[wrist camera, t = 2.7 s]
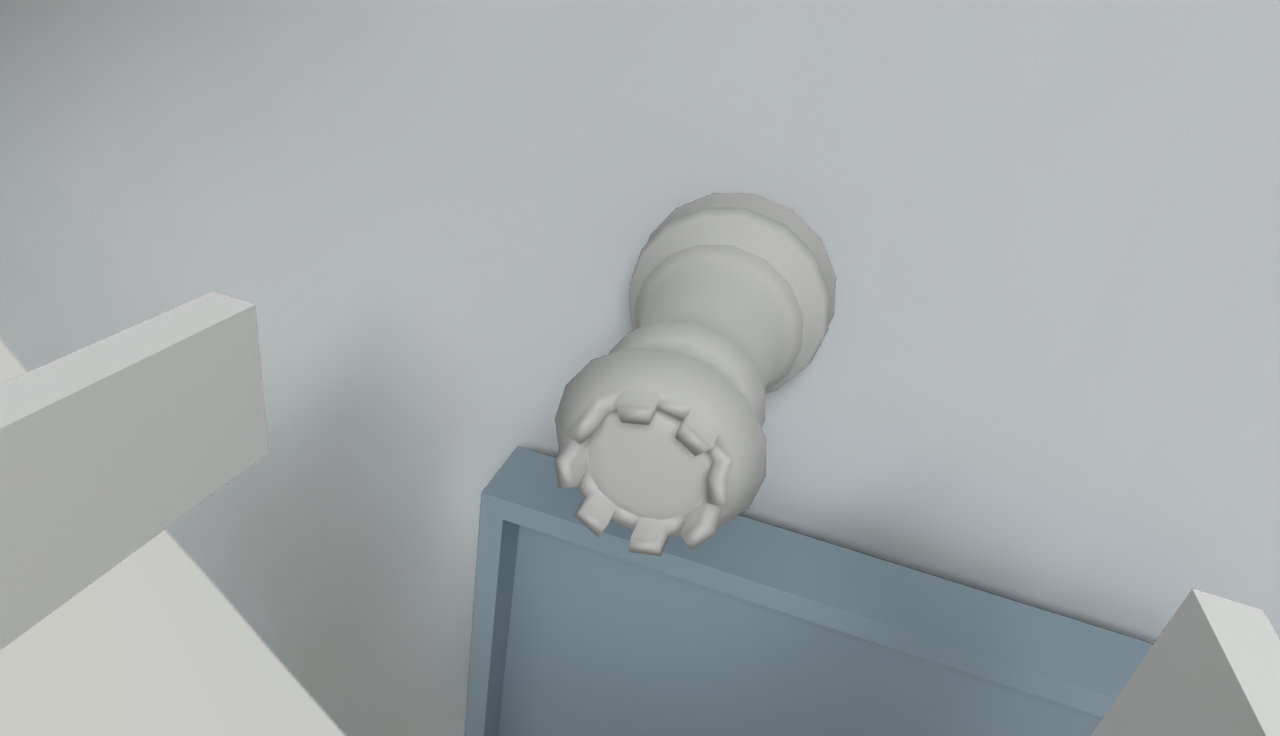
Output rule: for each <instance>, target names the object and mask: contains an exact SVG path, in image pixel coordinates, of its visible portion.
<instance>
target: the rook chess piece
mask: <svg viewBox="0 0 1280 736" xmlns="http://www.w3.org/2000/svg"><path fill="white" fill-rule="evenodd" d="M835 289H836V275H835V272H834V270H833V267H832V265H831V262H830V260H829V257H828V254H827V252H826V249H825V247H824V244H823V242H822V239H821V238H820V237H819V236H818V235H817V234H816V233H815V232H814V231H813V230H812V229H811V228H810V227H809V226H808V225H807V224H806V223H805V222H804V221H803V220H802V219H801V218H800V217H799V216H798V215H797V214H796V213H795V212H794V211H793V210H792V209H789V208H787V207H784V206H782V205H780V204H777V203H775V202H772V201H770V200H768V199H765V198H763V197H761V196H758V195H756V194H741V193H712V194H710V195H707V196H705V197H702V198H700V199H698V200H695V201H693V202H690V203H688V204H685V205H683V206H681V207H678V208H676V209H675V210H674V211H673V212H672V213H671V214H670V215H669V216H668V217H667V218H666V219H665V221H664V222H663V223H662V224H661V225H660V226H659V227H658V228H657V229H656V230H655V231H654V232H653V233H652V234H651V235H650V237H649V240H648V243H647V245H646V246H645V247H644V248H643V249H642V250H641V253H640V256H639V259H638V262H637V265H636V267H635V270H634V273H633V276H632V279H631V282H630V288H629V294H630V308H631V321H632V327H633V329H634V330H633V331H631V332H630V333H629V334H628V335H626V336H625V337H624V338H623V339H622V340H621V341H620V342H619V343H618V344H617V345H616V346H615V347H614V348H613V349H612V350H611V351H610V353H609V354H608V355H605V356H602V357H600V358H597V359H594V360H591V361H590V362H589V363H588V364H587V365H586V366H585V367H584V368H583V369H582V370H581V371H580V372H579V373H578V374H577V375H576V376H575V377H574V378H573V379H572V380H571V381H570V382H569V383H568V384H567V385H566V386H565V390H564V393H563V396H562V399H561V402H560V405H559V408H558V411H557V414H556V417H555V423H556V431H557V439H558V446H559V453H558V455H557V456H556V458H555V459H554V460H555V468H556V475H557V483H558V488H570V487H577V486H578V488H579V490H580V491H581V493H582V494H583V496H584V498H583V500H582V502H581V503H580V505H579V507H578V509H577V510H576V512H575V514H574V516H575V517H576V518H577V519H578V520H579V521H580V522H581V523H583V524H584V525H585V526H586V527H587V528H588V529H589V530H590V531H591V532H593V533H594V534H595V535H596V536H597V537H599V536H600V534H601V533H602V532H603V530H604V529H605V528H606V526H607V525H608V523H609V521H610V520H612V521H614V522H616V523H618V524H621V525H623V526H625V527H627V528H629V529H631V530H633V533H632V535H631V539H630V546H629V552H633V553H640V554H647V555H654V556H661V555H662V553H663V550H664V548H665V545H666V542H667V540H668V537H670V536H681V538H682V539H683V540H684V542H685V543H686V544H687V545H688V547H689V548H690V549H691V550H693V549H694V548H696V547H697V546H698V545H700V544H701V543H703V542H704V541H706V540H707V539H708V538H710V537H711V536H713V535H714V534H715V533H716V529H717V528H720V527H722V526H723V525H724V524H726V523H727V522H729V521H730V520H732V519H733V518H734V517H736V516H737V515H739V514H740V513H742V512H743V511H745V510H746V509H747V508H749V506H750V504H751V503H752V501H753V499H754V497H755V495H756V493H757V491H758V490H759V488H760V486H761V484H762V482H763V480H764V478H765V477H766V437H765V435H764V433H763V430H762V428H761V427H762V425H763V423H764V421H765V393H768V392H772V391H775V390H778V389H779V388H780V387H781V386H783V385H784V384H785V383H787V382H788V381H789V380H790V379H792V378H793V377H794V376H795V375H797V374H798V373H799V372H801V371H802V370H803V369H804V368H806V367H807V366H808V365H809V364H810V363H811V362H812V360H813V358H814V356H815V354H816V352H817V350H818V348H819V346H820V345H821V343H822V341H823V339H824V337H825V335H826V333H827V331H828V326H829V324H830V322H831V320H832V318H833V316H834V308H835Z"/></svg>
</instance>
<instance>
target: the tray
mask: <svg viewBox="0 0 1280 736" xmlns="http://www.w3.org/2000/svg"><path fill="white" fill-rule="evenodd" d="M554 459H555V458H554V457H551V456H548V455H544V454H541V453H538V452H535V451H532V450H528V449H525V448H522V447H519V446H518V447H517V448H516V449H515V451H514V452H513V453H512V454H511V456H510V457H509V458H508V460H507V461H506V462H505V463H504V465H503V466H502V467H501V468H500V470H499V471H498V472H497V474H496V475H495V476H494V477H493V479H492V480H491V481H490V482H489V484H488V485H487V486H486V487H485V489H484V490H483V491H482V493H481V506H480V520H479V535H478V549H477V564H476V578H475V592H474V607H473V621H472V636H471V650H470V665H469V679H468V694H467V708H466V722H465V736H1091V734H1092V733H1093V731H1094V730H1095V728H1096V727H1097V725H1098V724H1099V722H1100V721H1101V720H1102V718H1103V717H1104V715H1105V714H1106V712H1107V711H1108V710H1109V708H1110V707H1111V705H1112V704H1113V702H1114V701H1115V699H1116V698H1117V697H1118V695H1119V694H1120V692H1121V691H1122V689H1123V688H1124V686H1125V685H1126V684H1127V682H1128V681H1129V679H1130V678H1131V676H1132V675H1133V673H1134V672H1135V671H1136V669H1137V668H1138V666H1139V665H1140V663H1141V662H1142V660H1143V659H1144V658H1145V656H1146V655H1147V653H1148V652H1149V650H1150V649H1151V648H1152V646H1153V645H1154V644H1151V643H1148V642H1145V641H1141V640H1138V639H1135V638H1132V637H1129V636H1125V635H1122V634H1119V633H1116V632H1113V631H1109V630H1106V629H1103V628H1100V627H1097V626H1093V625H1090V624H1087V623H1084V622H1080V621H1077V620H1074V619H1071V618H1068V617H1064V616H1061V615H1058V614H1055V613H1052V612H1048V611H1045V610H1042V609H1039V608H1036V607H1032V606H1029V605H1026V604H1023V603H1019V602H1016V601H1013V600H1010V599H1007V598H1003V597H1000V596H997V595H994V594H991V593H987V592H984V591H981V590H978V589H975V588H971V587H968V586H965V585H962V584H959V583H955V582H952V581H949V580H946V579H942V578H939V577H936V576H933V575H930V574H926V573H923V572H920V571H917V570H914V569H910V568H907V567H904V566H901V565H898V564H894V563H891V562H888V561H885V560H881V559H878V558H875V557H872V556H869V555H865V554H862V553H859V552H856V551H853V550H849V549H846V548H843V547H840V546H837V545H833V544H830V543H827V542H824V541H821V540H817V539H814V538H811V537H808V536H804V535H801V534H798V533H795V532H792V531H788V530H785V529H782V528H779V527H776V526H772V525H769V524H766V523H763V522H760V521H756V520H753V519H750V518H747V517H743V516H740V515H737V516H736V517H734V518H733V519H732V520H730V521H729V522H727V523H726V524H724V525H723V526H722V527H720V528H717V529H716V533H715V534H714V535H713V536H711V537H710V538H708V539H707V540H706V541H704V542H703V543H701V544H700V545H698V546H697V547H696V548H694V549H693V550H691V549H690V548H689V547H688V545H687V544H686V543H685V542H684V540H683V539H682V538H681V536H670V537H668V540H667V542H666V545H665V548H664V550H663V553H662V555H661V556H654V555H647V554H640V553H633V552H629V546H630V539H631V535H632V533H633V530H631V529H629V528H627V527H625V526H623V525H621V524H618V523H616V522H614V521H612V520H610V521H609V523H608V525H607V526H606V528H605V529H604V530H603V532H602V533H601V534H600V536H599V537H597V536H596V535H595V534H594V533H593V532H591V531H590V530H589V529H588V528H587V527H586V526H585V525H584V524H583V523H581V522H580V521H579V520H578V519H577V518H576V517H575V516H574V514H575V512H576V510H577V509H578V507H579V505H580V503H581V502H582V500H583V498H584V496H583V494H582V493H581V491H580V490H579V488H578V486H577V487H570V488H558V483H557V475H556V468H555V460H554Z"/></svg>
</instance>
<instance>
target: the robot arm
mask: <svg viewBox="0 0 1280 736" xmlns="http://www.w3.org/2000/svg"><path fill="white" fill-rule="evenodd" d="M267 454H268V442H267V431H266V420H265V408H264V397H263V385H262V374H261V363H260V351H259V340H258V329H257V317H256V306H255V304H252V303H249V302H245V301H242V300H239V299H236V298H232V297H229V296H226V295H222V294H219V293H216V292H213V291H212V292H210V293H208V294H205V295H203V296H201V297H199V298H196V299H194V300H192V301H189V302H187V303H185V304H183V305H180V306H178V307H176V308H173V309H171V310H169V311H167V312H164V313H162V314H160V315H157V316H155V317H153V318H151V319H148V320H146V321H144V322H141V323H139V324H137V325H135V326H132V327H130V328H128V329H125V330H123V331H121V332H119V333H116V334H114V335H112V336H109V337H107V338H105V339H103V340H100V341H98V342H96V343H93V344H91V345H89V346H87V347H84V348H82V349H80V350H77V351H75V352H73V353H71V354H68V355H66V356H64V357H61V358H59V359H57V360H55V361H52V362H50V363H48V364H45V365H43V366H41V367H38V368H36V369H34V370H32V371H29V372H27V373H25V374H22V375H20V376H18V377H16V378H14V379H11V380H9V381H6V382H4V383H2V384H0V650H1V649H2V648H4V647H5V646H6V645H8V644H9V643H11V642H12V641H13V640H15V639H16V638H17V637H19V636H20V635H22V634H23V633H24V632H26V631H27V630H28V629H30V628H31V627H32V626H34V625H35V624H37V623H38V622H39V621H40V620H42V619H43V618H45V617H46V616H47V615H49V614H50V613H52V611H54V610H56V609H57V608H58V607H60V606H61V605H62V604H64V603H65V602H67V601H68V600H69V599H71V598H72V597H73V596H75V595H76V594H77V593H79V592H80V591H81V590H83V589H84V588H86V587H87V586H88V585H90V584H91V583H92V582H94V581H95V580H96V579H98V578H99V577H101V576H102V575H103V574H104V573H106V572H107V571H109V570H110V569H111V568H113V567H114V566H115V565H117V564H118V563H119V562H121V561H122V560H124V559H125V558H126V557H128V556H129V555H130V554H132V553H133V552H135V551H136V550H137V549H139V548H140V547H141V546H142V545H144V544H145V543H147V542H148V541H149V540H151V539H152V538H153V537H155V536H156V535H158V534H159V533H160V532H162V531H163V530H165V529H166V528H167V527H169V526H170V525H171V524H173V523H174V522H175V521H177V520H178V519H179V518H181V517H182V516H184V515H185V514H186V513H188V512H189V511H190V510H192V509H193V508H194V507H196V506H197V505H199V504H200V503H201V502H203V501H204V500H205V499H207V498H208V497H209V496H211V495H212V494H214V493H215V492H216V491H218V490H219V489H220V488H222V487H223V486H224V485H226V484H227V483H228V482H230V481H231V480H233V479H234V478H235V477H237V476H238V475H239V474H241V473H242V472H243V471H245V470H246V469H248V468H249V467H250V466H252V465H253V464H254V463H256V462H257V461H258V460H260V459H261V458H263V457H264V456H265V455H267ZM1091 736H1280V639H1279V637H1278V636H1277V634H1276V632H1275V631H1274V629H1273V627H1272V626H1271V624H1270V622H1269V620H1268V619H1267V617H1266V615H1265V614H1264V612H1263V610H1261V609H1258V608H1254V607H1251V606H1248V605H1245V604H1241V603H1238V602H1235V601H1231V600H1228V599H1225V598H1221V597H1218V596H1215V595H1212V594H1208V593H1205V592H1202V591H1198V590H1195V589H1192V590H1191V591H1190V593H1189V594H1188V596H1187V597H1186V599H1185V600H1184V601H1183V603H1182V604H1181V606H1180V607H1179V609H1178V610H1177V611H1176V613H1175V614H1174V616H1173V617H1172V619H1171V620H1170V622H1169V623H1168V624H1167V626H1166V627H1165V629H1164V630H1163V632H1162V633H1161V635H1160V636H1159V637H1158V639H1157V640H1156V642H1155V643H1154V645H1153V646H1152V648H1151V649H1150V650H1149V652H1148V653H1147V655H1146V656H1145V658H1144V659H1143V660H1142V662H1141V663H1140V665H1139V666H1138V668H1137V669H1136V671H1135V672H1134V673H1133V675H1132V676H1131V678H1130V679H1129V681H1128V682H1127V684H1126V685H1125V686H1124V688H1123V689H1122V691H1121V692H1120V694H1119V695H1118V697H1117V698H1116V699H1115V701H1114V702H1113V704H1112V705H1111V707H1110V708H1109V710H1108V711H1107V712H1106V714H1105V715H1104V717H1103V718H1102V720H1101V721H1100V722H1099V724H1098V725H1097V727H1096V728H1095V730H1094V731H1093V733H1092V734H1091Z"/></svg>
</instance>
